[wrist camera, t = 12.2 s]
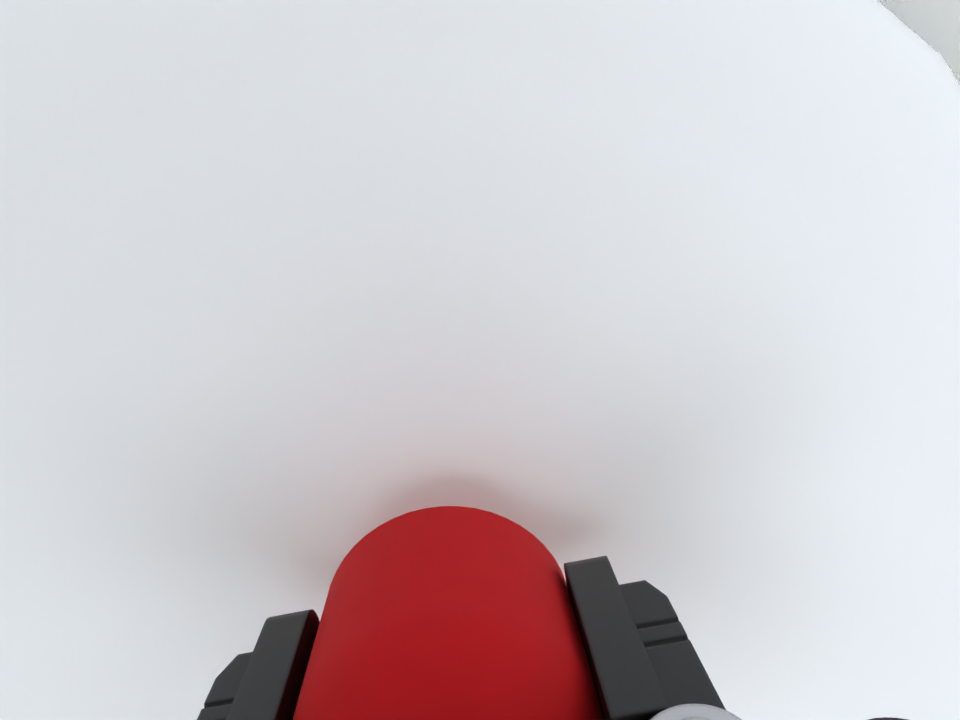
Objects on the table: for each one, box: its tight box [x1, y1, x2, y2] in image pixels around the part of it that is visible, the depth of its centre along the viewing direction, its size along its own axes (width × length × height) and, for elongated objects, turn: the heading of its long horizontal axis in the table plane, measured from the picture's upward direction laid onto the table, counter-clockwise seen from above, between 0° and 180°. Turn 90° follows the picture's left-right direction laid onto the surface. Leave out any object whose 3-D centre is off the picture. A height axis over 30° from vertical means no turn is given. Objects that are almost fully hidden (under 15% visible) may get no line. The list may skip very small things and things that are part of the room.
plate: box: [0, 0, 960, 720], centre depth 14 cm, size 25×25×1 cm
